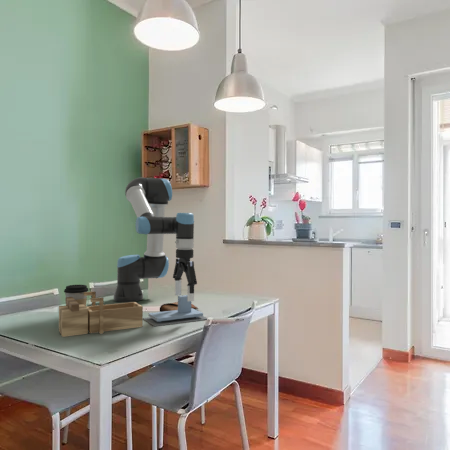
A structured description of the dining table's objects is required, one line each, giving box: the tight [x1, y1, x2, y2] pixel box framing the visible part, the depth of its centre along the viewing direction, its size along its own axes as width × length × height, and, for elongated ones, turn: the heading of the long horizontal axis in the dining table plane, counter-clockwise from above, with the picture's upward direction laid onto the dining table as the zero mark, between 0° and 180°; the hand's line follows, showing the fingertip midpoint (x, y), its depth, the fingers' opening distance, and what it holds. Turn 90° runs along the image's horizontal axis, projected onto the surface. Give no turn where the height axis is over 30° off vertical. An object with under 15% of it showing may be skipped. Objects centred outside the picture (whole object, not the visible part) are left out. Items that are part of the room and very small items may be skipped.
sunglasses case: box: [159, 301, 199, 312], centre depth 182 cm, size 18×7×7 cm
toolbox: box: [58, 291, 144, 338], centre depth 153 cm, size 15×30×13 cm, turn 119°
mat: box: [143, 315, 208, 327], centre depth 168 cm, size 14×24×1 cm, turn 119°
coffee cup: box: [63, 284, 90, 306], centre depth 160 cm, size 9×9×15 cm
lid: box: [147, 294, 204, 323], centre depth 168 cm, size 11×21×9 cm, turn 120°
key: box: [65, 297, 79, 312], centre depth 147 cm, size 16×2×2 cm, turn 29°
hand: (184, 298), depth 170 cm, fingers open, 13 cm apart
